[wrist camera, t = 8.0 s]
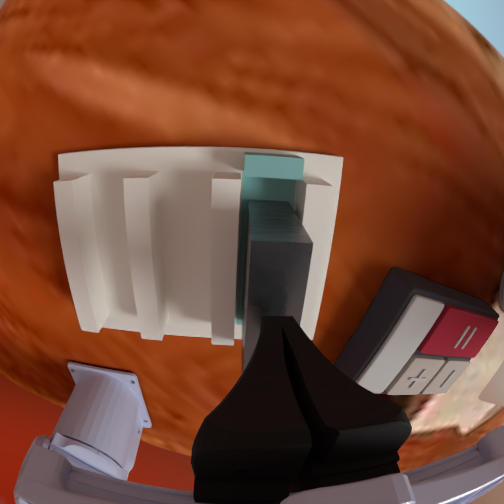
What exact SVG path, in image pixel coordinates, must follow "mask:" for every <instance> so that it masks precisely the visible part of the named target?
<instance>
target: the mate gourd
mask: <svg viewBox="0 0 504 504" xmlns="http://www.w3.org/2000/svg"><path fill="white" fill-rule="evenodd" d="M499 303H500V306H501V309H502V310H503V311H504V271H503V275H502V278H501V283H500V289H499Z"/></svg>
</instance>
